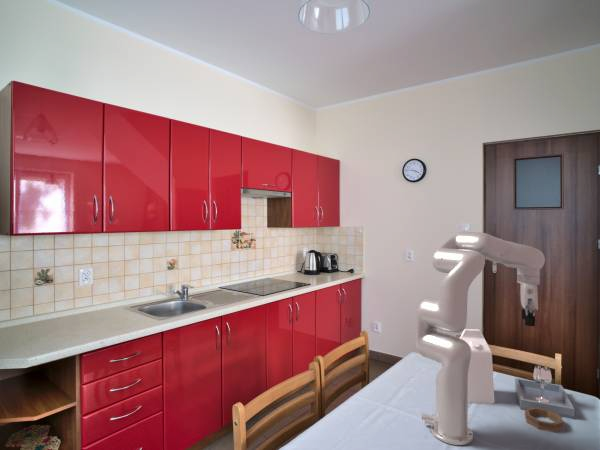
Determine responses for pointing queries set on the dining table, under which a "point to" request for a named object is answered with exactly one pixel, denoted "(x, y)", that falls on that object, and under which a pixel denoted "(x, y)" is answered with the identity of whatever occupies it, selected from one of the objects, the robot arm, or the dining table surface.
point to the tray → (552, 392)
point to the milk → (479, 368)
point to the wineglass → (542, 380)
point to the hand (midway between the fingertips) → (528, 322)
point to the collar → (543, 425)
